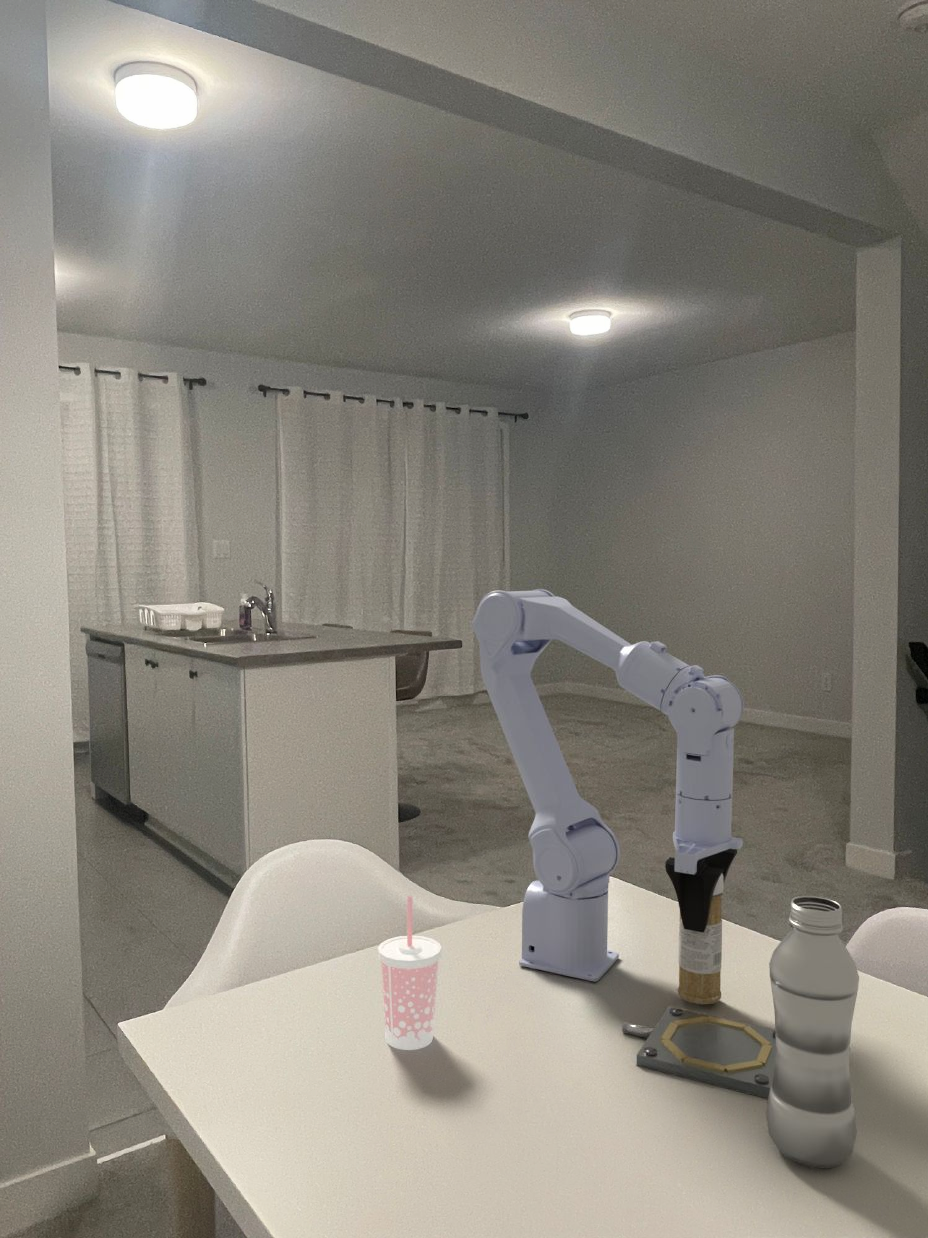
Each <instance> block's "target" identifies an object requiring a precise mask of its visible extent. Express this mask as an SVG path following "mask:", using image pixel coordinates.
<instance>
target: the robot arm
mask: <svg viewBox="0 0 928 1238" xmlns="http://www.w3.org/2000/svg"><path fill="white" fill-rule="evenodd" d="M471 626H472V627H471V628H472V630H473V632H474V634H475V637H476V640H477V641H478V645H479V662H480V674H481V678H482V681H483V684H484V686H485V689H486V692H487V693H488V696H489V699H490V701H491V704H492V706H493V709H494V712H495V714H496V716H497V719H498V722H499V725H500V726H501V729H502V732H503V734H504V737H505V740H506V742H507V745H508V747H509V749H510V752H511V754H512V757H513V759H514V762H515V765H516V767H517V769H518V772H519V774H520V778H521V779H522V783H523V785H524V787H525V789H526V793H527V795H528V797H529V800H530V802H531V803H530V804H531V805H532V808H533V811H534V813H535V816H534V820H533V822H532V823H531V824H532V825H531V826H530V830H529V831H528V835H527V836H528V837H527V838H528V840H529V842H530V845H531V849H532V855H533V856H532V865H533V870H534V874H535V876H536V879H538V880H534V881H532V882H531V883H530V884H529V886H528V887H527V889H526V891H525V895H524V898H523V903H522V913H521V914H522V915H521V917H522V918H521V959H520V960H519V962H518V965H519V966H522V967H527V968H530V969H535V970H540V971H543V972H548V973H553V974H556V975H557V974H558V975H563V976H567V977H572V978H576V979H581V980H585V981H589V982H598V981H599V980H600V979H601V978H602V977H603V975H605V973H606V972H607V971H608V970H609V969H610V968H611V966H612V965H614V963H615V962H616V961H617V960H618V958H619V955H620V954H619V952H616V951H613V950H612V951H611V950H608V928H609V926H608V925H609V921H608V920H609V919H608V918H609V917H608V915H609V884H610V873H612V872H613V871H614V870H615V869H616V868H617V866H618V864H619V863H620V862H619V861H620V857H621V849H620V843H619V840H618V838H617V837H616V834H615V833H614V832H613V831H612V830H611V829H610V827H608V826H607V824H606V823H605V822H604V821H603V819H602V818H601V817H602V816H601V815H600V812H599V811H598V809H597V808H596V807H595V806H593V805H592V804H591V803H589V802H588V801H586V800H584V799H583V797H581V796H580V794H579V792H578V789H577V786H576V785H575V782H574V780H573V777H572V774H571V772H570V770H569V767H568V765H567V762H566V760H565V758H564V755H563V752H562V751H561V748H560V745H559V742H558V741H557V737H556V734H555V732H554V731H553V727H552V726H551V723H550V720H549V718H548V715H547V713H546V711H545V708H544V706H543V703H542V701H541V699H540V696H539V693H538V691H537V689H536V686H535V684H534V682H533V679H532V677H531V673H532V670H533V667H534V665H535V663H536V660H537V659H538V657H539V656H540V655H541V654H542V652H544V650H545V649H546V648H547V646H548V645H549V644H550V642H551V641H552V640H558V641H560V642H562V643H564V644H566V645H567V646H569V647H571V648H573V649H575V650H577V651H578V652H581V653H582V654H584V655H586V656H588V657H589V658H591V659H592V660H593V659H594V660H595V661H597V662H599V663H600V664H602V665H604V666H606V667H608V668H609V669H612V670H613V671H614V672H615V677H616V680H617V683H618V686H619V687H621V688H623V689H624V690H625V691H627V692H629V693H630V694H632V695H634V696H635V697H637V698H638V699H640V700H642V701H643V702H645V703H647V704H648V705H650V706H651V707H653V708H655V709H656V710H658V711H660V712H661V713H663V714H664V715H666V716H668V717H667V718H668V720H669V722H670V724H671V726H672V727H673V729H674V730H675V733H676V740H677V741H676V773H675V775H676V776H675V780H676V781H675V804H674V805H675V808H674V809H675V810H674V811H675V812H674V813H675V814H674V815H675V817H674V831H673V832H672V843H673V845H674V849H675V852H674V857H671V856H670V857H669V858H668V859H666V861H665V863H664V864H665V865H664V867H665V872H666V874H667V875H668V877H669V879H670V881H671V883H672V886H673V889H674V891H675V894H676V898H677V902H678V903H677V904H678V907H679V915H680V914H681V919H682V923H683V927H684V929H687V930H692V931H697V932H704V931H705V929H706V926H707V923H708V918H709V913H710V907H711V901H712V896H713V893H714V889H715V886H716V884H717V882H718V879H719V877H720V876H721V874H723V884H724V885H725V881H726V878H727V875H728V873H729V869H730V867H731V866H732V865H731V864H732V863H733V861H734V859H735V858H736V856H737V854H738V850H740V849H741V848H742V847H743V846H744V839H743V838H742V837H734V836H732V820H733V819H732V818H733V817H732V816H733V815H732V813H733V810H732V809H733V787H734V786H733V785H734V783H733V782H734V754H735V753H734V746H735V743H734V742H735V741H734V740H735V739H734V738H735V728H734V727H735V726H736V725H737V724H738V723H739V721H740V720H741V718H742V717H743V714H744V710H745V709H744V707H745V704H744V697H743V695H742V694H741V691H740V690H739V688H738V687H737V686H736V685H735V684H734V683H733V682H732V681H730V680H729V678H727V676H724V675H719V674H718V675H714V674H713V675H709V676H705V674H704V672H705V671H704V669H705V668H703V667H701V666H699V665H698V664H693V665H689V664H688V663H686V662H684V661H683V660H680V659H679V658H677V657H675V656H673V655H672V654H671V653H668V652H666V651H667V648H668V646H667V645H666V644H664V643H663V642H660V641H659V640H657V641H651V642H650V641H647V640H644V641H643V640H642V641H639V642H635V643H633V644H631V643H630V642H628V641H626V640H625V639H624V638H622V637H621V636H619V635H618V634H616V633H615V632H613V631H612V630H610V629H608V628H606V627H605V626H604V625H602V624H600V623H599V622H598V621H596V620H594V619H593V618H591V617H590V616H589V615H587V614H585V613H584V612H583V611H582V610H579V609H578V608H576V607H575V606H573V605H572V603H570V602H569V601H568V599H566V598H564V597H560V596H556V595H555V594H553V593H552V592H551V591H549V590H546V589H543V588H538V589H537V588H536V589H533V590H516V591H515V590H513V591H511V590H510V591H509V590H508V591H505V590H499V589H498V590H493V591H490V592H489V593H487V594H485V595H484V596H483V598H482V599H481V601H480V602H479V604H478V607H477V610H476V612H475V614H474V617H473V619H472V622H471Z"/></svg>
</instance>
